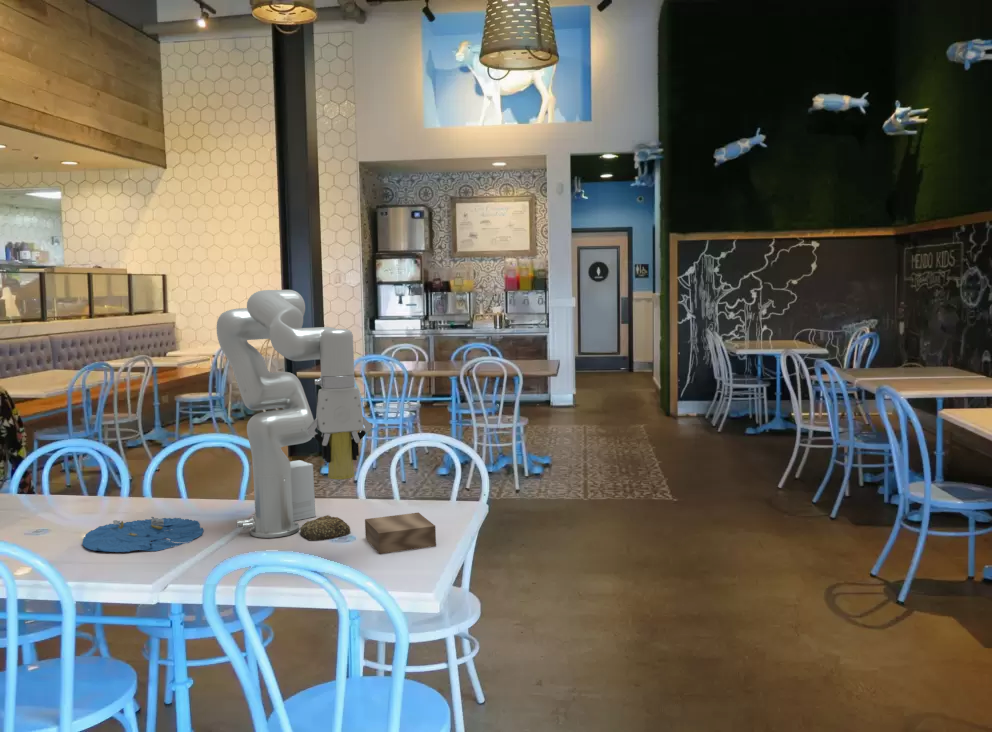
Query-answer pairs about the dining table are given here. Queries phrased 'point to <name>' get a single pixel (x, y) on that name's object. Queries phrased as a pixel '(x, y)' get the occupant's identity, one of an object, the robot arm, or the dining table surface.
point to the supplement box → (302, 490)
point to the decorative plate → (142, 535)
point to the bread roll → (324, 528)
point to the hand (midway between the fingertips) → (340, 459)
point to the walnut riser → (400, 533)
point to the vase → (340, 456)
